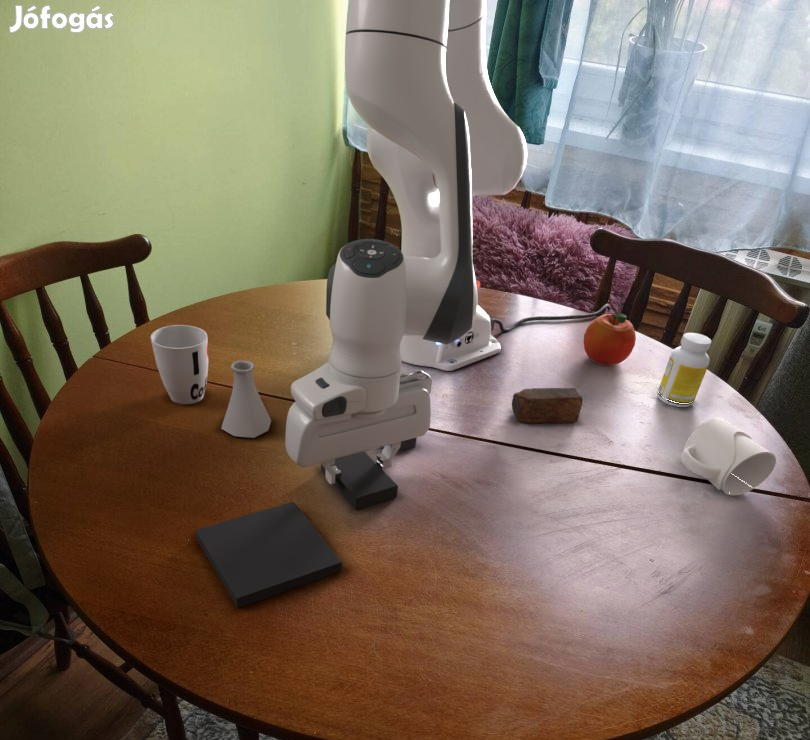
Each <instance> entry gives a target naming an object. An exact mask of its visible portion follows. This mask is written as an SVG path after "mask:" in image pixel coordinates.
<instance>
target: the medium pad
mask: <svg viewBox="0 0 810 740" xmlns="http://www.w3.org/2000/svg"><path fill="white" fill-rule="evenodd" d="M331 466H336V467H337V468H338V470H340V471H341V472H342V473H341V482H338V483H335V484H332V485H333V486H334V487H335V488H336V489H337V491H338V492H339V493H340V494H341V495H342V497H343V498H344V499H345V500H346V501H347V502H348V504H350V506H351V507H352V508H353V509H354V511H357V510H360V509H364V508H367V507H370V506H374V505H376V504H379V503H383V502H386V501H389V500H390V501H391V500H393V499H396V498H397V497H398V492H399V491H398V490H399V485H398V484H397V483H396V482H395V481H394V480H393V479H392V478H391V477H390V476H389V475H388V474H387V473H386V472H385V471H384V470H382V469H381V468H380V467H379V466H378V465H377V464H376V461H374V459H372V458H371V456H370V455H368V453H366V451H364V452H360V453H356V454H352V455H349V456H345V457H341V458H337V459H335V464H334V465H331ZM320 471H321V473H322V474H323V475H324V476H325V477H326V469H325V468H324V466H323V465H322V464H321V463H320Z"/></svg>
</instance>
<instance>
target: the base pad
mask: <svg viewBox="0 0 810 740" xmlns="http://www.w3.org/2000/svg"><path fill="white" fill-rule="evenodd" d="M194 532H195V539H196V541H197V543H198V544H199V546H200V548H201V550H202V551H203V553H204V554H205V556H206V559H208V561H209V563H210V564H211V566H212V568H213V570H214V571H215V573H216V574H217V576H218V578H219V579H220V581H221V583H222V584H223V586H224V588H225V589H226V591H227V592H228V594H229V596H230V598H231V600H232V601H233V603H234V604H235V606H236V607H237V609H238V608H241V607H244V606H247V605H250V604H253V603H256V602H258V601H261V600H264V599H267V598H270V597H273V596H275V595H278V594H281V593H284V592H287V591H289V590H290V591H291V590H292V589H295V588H298V587H301V586H304V585H307V584H310V583H313V582H316V581H319V580H322V579H324V578H326V577H327V578H328V577H330V576H332V575H336V574H338V573H340V572H342V569H343V568H342V565H343V564H342V563H343V562H342V560H341V559H340V558H339V556H337V554H336V553H335V552H334V551H333V549H332V548H331V547H330V546H329V544H328V543H327V542H326V540H325V539H324V538H323V537H322V535H321V534H320V533H319V532H318V530H317V529H316V528H315V527H314V525H313V524H312V523H311V522H310V520H309V519H308V517H307V516H306V515H305V514H304V512H303V511H302V510H301V509H300V508H299V506H298V505H297V503H296V502H295V501H289V502H287V503H284V504H279V505H277V506H273V507H270V508H266V509H263V510H259V511H255V512H252V513H248V514H246V515H242V516H238V517H235V518H231V519H228V520H224V521H221V522H218V523H214V524H211V525H208V526H204V527H200V528H197V529H195V530H194Z"/></svg>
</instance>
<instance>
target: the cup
mask: <svg viewBox="0 0 810 740" xmlns="http://www.w3.org/2000/svg"><path fill="white" fill-rule="evenodd" d="M208 339H209V338H208V333H207V332H206V331H205V330H203V328H200V327H197V326H193V325H186V324H172V325H167V326H163V327H160V328H157V329H156V330H154V331H153V332H152V333H151V334H150V342H151V346H152V351H153V355H154V359H155V364H156V367H157V370H158V372H159V375H160V376H159V377H160V380H161V381H162V385H163V386H164V388H165V390H166V392H167V394H168V396H169V399H170V400H171V401H172V402H173V403H176V404H179V405H193V404H197V403H199V402H201V401H202V400H203V399H204V396H205V392H206V387H207V383H208V375H209V374H208V372H209V342H208V341H209V340H208Z"/></svg>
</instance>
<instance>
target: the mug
mask: <svg viewBox="0 0 810 740" xmlns="http://www.w3.org/2000/svg"><path fill="white" fill-rule="evenodd" d="M680 459H681V460H680V461H681V462H682V464H683V466H684V467H685V468H686V469H688V470H689V471H690V472H692V473H693V474H695V475H697V476H699V477H702V478H704V479H706V480H707V481H708V482H709V483H711V485H712V486H714V487H715V488H716V489H717V490H719V491H723V492H724V494H726V495H728V496H732V497H733V496H734V497H735V496H741V495H744V494H746V493H748V492H751V491H752V490H755V488H754V487H756V488H757V487H759V486H760V485H761V484H763V483H764V482H765V481H767V479H768V478H769V476H770V475H771V474H772V473H773V471H774V469H775V467H776V464H777V457H776V455H775V454H774V453H772V452H771V451H770V450H768V449H767V448H765V447H764V446H762V445H760V444H758V443H757V442H755V440H753V438H752V437H751V436H750V435H749V434H747V433H746V432H744V431H743V430H742V429H740V428H738V427H737V426H735V425H734V424H732V423H731V422H729V421H727V420H726V419H724V418H722V417H714V418H710V419H708V420H706V421H704V422H703V423H701V424H700V425H699V426H698V427H697V428H695V430H694V431H693V432H692V433H691V434H690V436H689V437H688V439H686V442H685V445H684V447H683V453H682V455H681V457H680ZM731 473H732V474H734V475H735V476H737V477H739V479H741V480H743V481H745V483H746V482H747V484H749V485H751V486H752V487H753V488H751V487H749V486H748V485H747V484H745V483H744V482H742V481H741V480H739V479H738V478H737V477H735V476H734V475H732V474H731ZM729 492H730V494H729Z"/></svg>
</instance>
